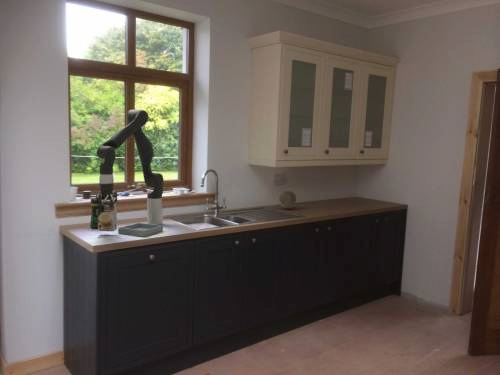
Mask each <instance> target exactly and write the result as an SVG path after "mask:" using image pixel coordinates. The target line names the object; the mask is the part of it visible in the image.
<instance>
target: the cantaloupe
mask: <svg viewBox="0 0 500 375" xmlns="http://www.w3.org/2000/svg"><path fill="white" fill-rule="evenodd" d="M296 202H297V196H296V193H294V192H293V191H289V190H284V191H282V192H281V193H280V195H279V204H280V206H281V207H283V209H285V210H291V209H292V208H294V207H295V205H296Z"/></svg>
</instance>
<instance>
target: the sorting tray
mask: <svg viewBox="0 0 500 375" xmlns="http://www.w3.org/2000/svg"><path fill="white" fill-rule="evenodd" d="M163 228H164V225H162V224H161V225H153V224H147V223H145V222H144V223H143V222H136V223H132V224H128V225H124V226H120V227H117V230H118V231H117V232H118V234H119V235H124V236H125V235H126V236H131V237H132V236H133V237H140V238H146V237H149V236H152V235H157V234H159V233H162V232H164V231H163V230H164V229H163Z"/></svg>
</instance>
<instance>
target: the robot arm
mask: <svg viewBox="0 0 500 375" xmlns="http://www.w3.org/2000/svg"><path fill="white" fill-rule="evenodd" d="M126 118H127V122H128V124H127V125H125V126H123V127H122V128H120V129H119V130H117V131H116V132H115V133H114V134H113V135H111V137H110V138H109V139H108V140H107V141H105V142H103V143H102V144H100V146H98V148H97V149H96V156H97V157H98V158H99V159H101V160H104V162H103V163H101V164H99V178H98V180H99V184H98V186H99V191H100V193H96V194H95V197H96V205H99V211H100V212H104V206H103V204H104V202H106V201H112V202H118V191H114V189H115V186H114V185H115V184H114V182H115V181H114V178H115V177H114V165H115V160H116V154H117V153H116V150H117V149H120V147H121V146H122V145H123V144H125V142H126V141H127V140H128V139H129V138H130V137H131V136H132V135H133V139H134V142H135V145H136V150H137V154H138V157H139V160H140V164H141V169H142V174H143V180H144V184H145V186H146V187H148V188H153V190H152V191H150V192H148V193H147V194H146V195H147V196H146V197H147V199H146V203H147V204H146V209H147V211H146V215H147V216H146V224H153V225H161V226H162V225H163V222H164V221H163V212H164V211H163V193H164V176H163V174H162V173H159V172H153V171H152V167H151V165H152V161H153V158H154V156H155V154H154V148H153V144H152V142H151V140H150V139H149V137H148V136H147V135H146V133H145V132H144V130H143V127H144V126H145V125H146V124H147V123H148V121H149V114H148V112H147V111H146V110H144V109H134V108H133V109H130V110H128V112H127V115H126ZM102 199H103V200H102ZM98 200H99V203H98Z"/></svg>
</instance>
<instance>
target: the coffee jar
mask: <svg viewBox="0 0 500 375" xmlns="http://www.w3.org/2000/svg"><path fill="white" fill-rule="evenodd" d="M102 200H103V199H102ZM89 203H90V206H91V207H90V208H91V216H90V228H91V229H92V228H93V229H98V205H96V196H94V197H91V199H90V202H89ZM98 203H99V200H98Z"/></svg>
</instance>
